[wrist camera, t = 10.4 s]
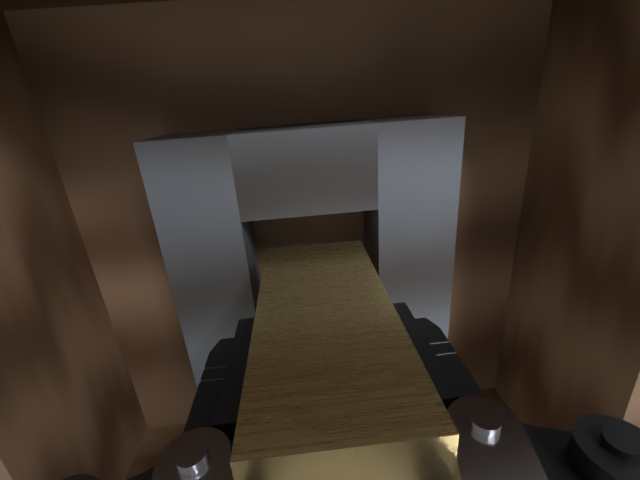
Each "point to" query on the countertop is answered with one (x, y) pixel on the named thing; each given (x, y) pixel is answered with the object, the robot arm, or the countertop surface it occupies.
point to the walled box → (308, 198)
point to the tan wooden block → (336, 378)
